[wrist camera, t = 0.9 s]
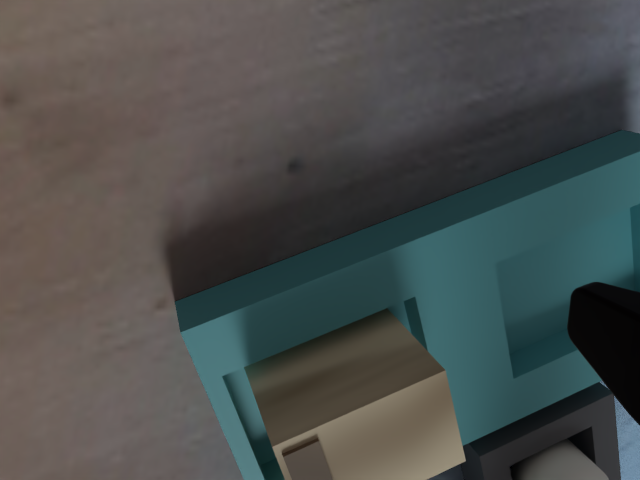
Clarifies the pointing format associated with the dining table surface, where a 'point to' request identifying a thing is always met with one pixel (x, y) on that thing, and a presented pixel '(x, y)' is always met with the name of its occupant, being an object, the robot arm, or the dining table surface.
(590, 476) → the button
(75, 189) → the dining table surface
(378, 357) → the block
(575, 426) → the button housing
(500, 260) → the teal block holder tray
